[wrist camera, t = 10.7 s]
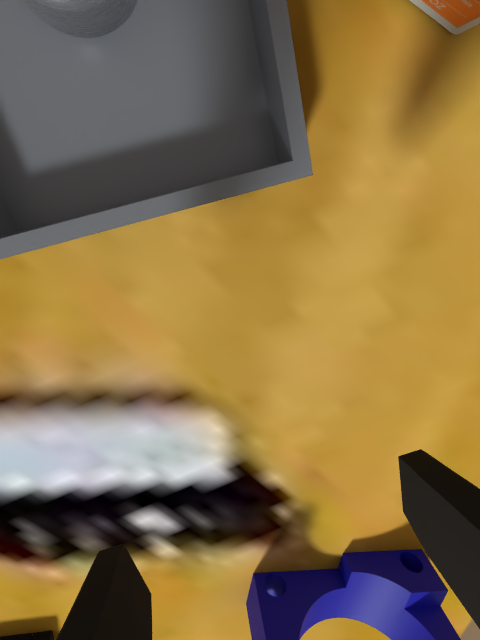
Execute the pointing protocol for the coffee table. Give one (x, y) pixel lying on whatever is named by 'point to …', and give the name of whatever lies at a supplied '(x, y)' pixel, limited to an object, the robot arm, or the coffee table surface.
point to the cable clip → (353, 597)
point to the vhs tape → (31, 636)
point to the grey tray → (143, 116)
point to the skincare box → (452, 13)
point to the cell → (83, 15)
